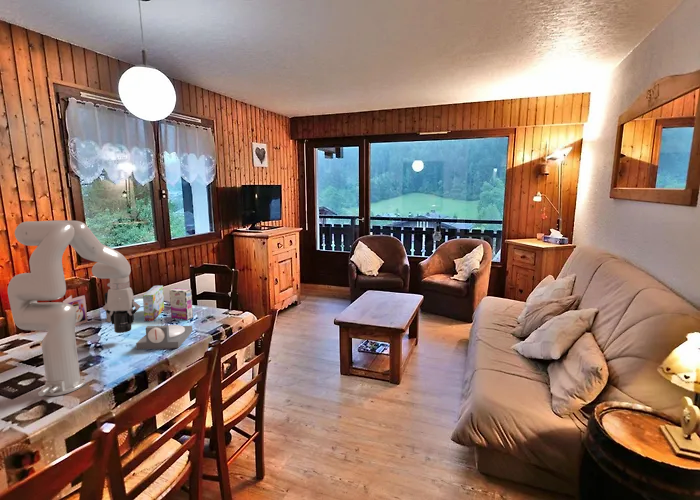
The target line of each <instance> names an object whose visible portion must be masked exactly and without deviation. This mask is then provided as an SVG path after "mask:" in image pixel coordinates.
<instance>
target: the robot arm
mask: <svg viewBox="0 0 700 500" xmlns="http://www.w3.org/2000/svg"><path fill="white" fill-rule="evenodd" d="M14 237H15V239H16V240H17V242H19V243H20V244H22V245H23V246H27V247H35V249H33V251H32V253H31V255H30V256H29V257H30V258H29V261H28V262H29V263H28V264H29V269H30V272H24V273H19V274H18V273H17V274H16V275H14V276H13V277H12V278H11V279H10V281H9V283H8V286H7V295H8V302H9V306H10V311H11V314H12V319H13V322H14V324H15V325H16V326H17V328H19V329H20V330H24V331H46V334H45V336H44V337H43V338H42V341H41V351H42V359H43V367H44V374H45V382H44V385H43V387H42V388H41V390H39V392H38V393H37V394H38V396H39V397H43V396H48V397H54V396H55V397H56V396H61V395H65V394H69V393H72V392H74V391H77V390H79V389H80V388H82V387H83V386H85V384H86V382H87V379H86V377H85V376H83V375H81V374H80V365H79V364H80V363H79V357H78V347H77V341H76V339H77V338H76V326H75V322H76V309H75V308H74V307H73V306H72V305H70V304H68V303H63V301H62V302H61V301H57V302H56V300H60V299H62V298H64V296H65V295H66V292H67V284H66V279H65V278H66V277H65V271H64V267H63V255H64V253H65V252H66V249H67V248H68V246H69V245H70V246H71V247H72V249H74V251H75V252H76V253H77V254H78V255H79V256H80V257H81V258H83V259H85V260H88V261H91V262H95V264H94V265H93V266H92V268H91V273H92V275H93V276H94V277H95V278H97V279H109V282H108V283H107V284H106V285H107V287H109V289H108V291H107V293H108V296H107V304H106V305H103V306H102V310H104V311H105V313H106V312H107V313H108V314H109V316H111V322H110V323H111V325H114V313H115V312H116V311H128V313H129V316H128V319H129V324H131V325H132V324H133V323H134V322H135V314H136V313H137V312H138V310H139V309H140V308H141V305H140V304H138V303H137V302H136V301H135V297H134V293H133V292H134V291H133V289H132V287H130V286H131V283H130V274H131V272H132V270H131V264H130V262H129V261H128V260H127V258H126V256H124V255H123V254H122V253H120V252H119V251H118V250H116V249H113V248H111V247H109V246H108V245H105V244H103V243H101V242H100V240H99V239H98V237H96V235H95V234H94V233H93V232H92V230H91V229H90V228H89V226H87V225H86V223H84V222H82V221H80V220H70V219H69V220H67V219H65V220H61V219H59V220H58V219H57V220H39V221H38V220H36V221H35V220H34V221H31V220H30V221H28V220H27V221H23V222H21V223H19V224H18V225H17V226H16V228H15V229H14ZM38 301H39V302H38ZM40 301H41V302H40ZM44 301H45V302H44ZM47 301H48V302H47ZM49 301H51V302H49ZM52 301H55V302H52Z"/></svg>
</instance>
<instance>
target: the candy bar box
mask: <svg viewBox="0 0 700 500" xmlns="http://www.w3.org/2000/svg"><path fill="white" fill-rule="evenodd" d="M192 292H193V291H192V289H187V288H178V287H177V288H172V289H170V290H169V302H170V303H169V304H170V305H169V306H170V316H171V317H170V319H176V320H185V321H189V320H191V319H193V318H194V314H193V313H194V312H193V311H194V310H193V295H192Z"/></svg>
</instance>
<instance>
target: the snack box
mask: <svg viewBox="0 0 700 500" xmlns="http://www.w3.org/2000/svg"><path fill="white" fill-rule="evenodd" d="M164 299H165V298H164V285H153V286H152V287H151V288H150V289H149V290H147V291H146V292H145V293H144V294H143V295H142V300H143V301H142V305H143V321H144V322H154V321H155V320H156V319H157V318H158V317H159V316H160V315H161V314H162V312H163V311H164V310H165V300H164Z"/></svg>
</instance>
